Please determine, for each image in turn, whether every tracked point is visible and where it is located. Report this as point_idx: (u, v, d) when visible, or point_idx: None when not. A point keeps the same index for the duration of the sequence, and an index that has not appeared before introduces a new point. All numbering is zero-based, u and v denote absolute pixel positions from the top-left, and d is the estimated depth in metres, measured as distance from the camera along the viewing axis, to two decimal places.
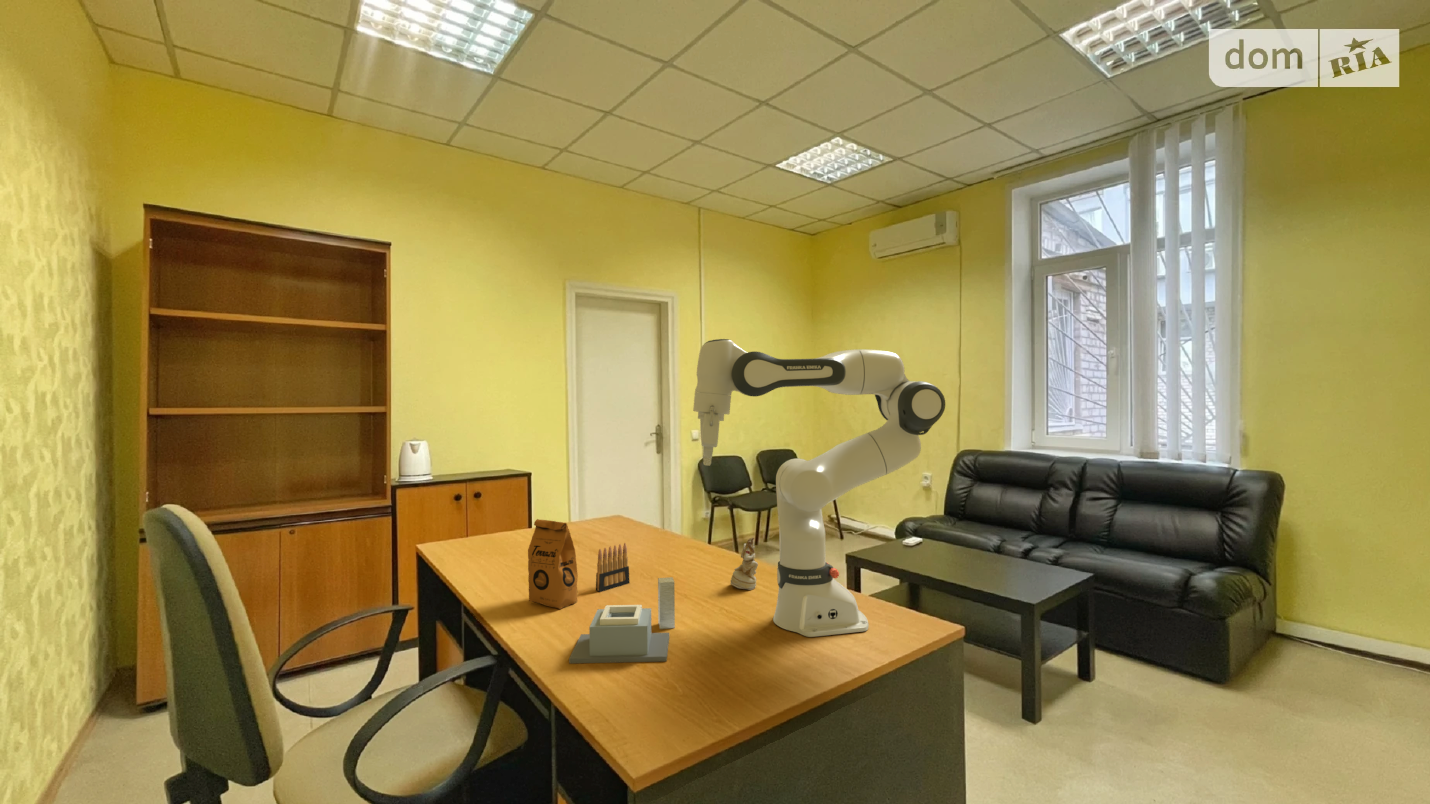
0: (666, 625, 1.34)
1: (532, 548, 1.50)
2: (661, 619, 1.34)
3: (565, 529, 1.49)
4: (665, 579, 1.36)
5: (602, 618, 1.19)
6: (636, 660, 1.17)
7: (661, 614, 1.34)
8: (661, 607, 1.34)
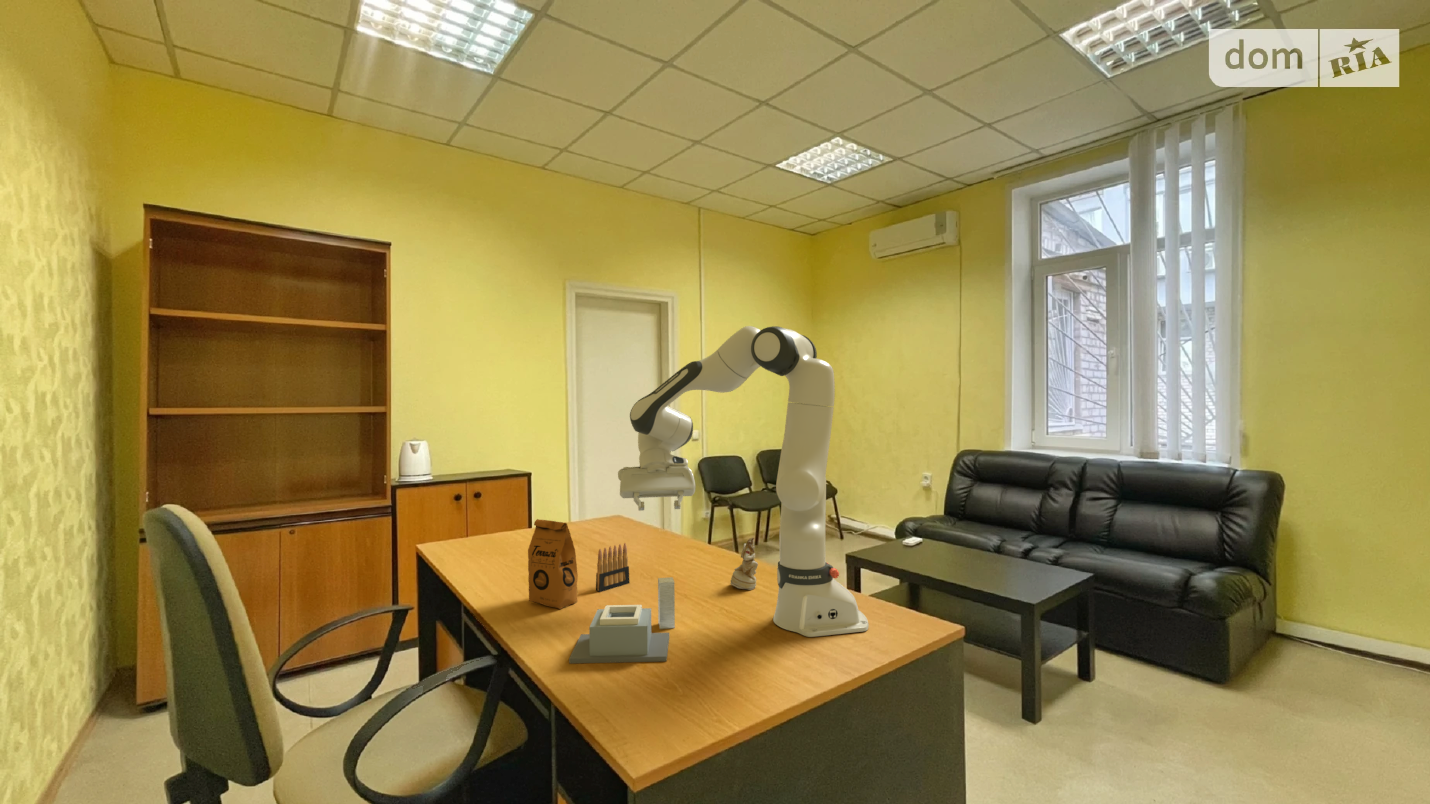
0: (666, 625, 1.34)
1: (532, 548, 1.50)
2: (661, 619, 1.34)
3: (565, 529, 1.49)
4: (665, 579, 1.36)
5: (602, 618, 1.19)
6: (636, 660, 1.17)
7: (661, 614, 1.34)
8: (661, 607, 1.34)
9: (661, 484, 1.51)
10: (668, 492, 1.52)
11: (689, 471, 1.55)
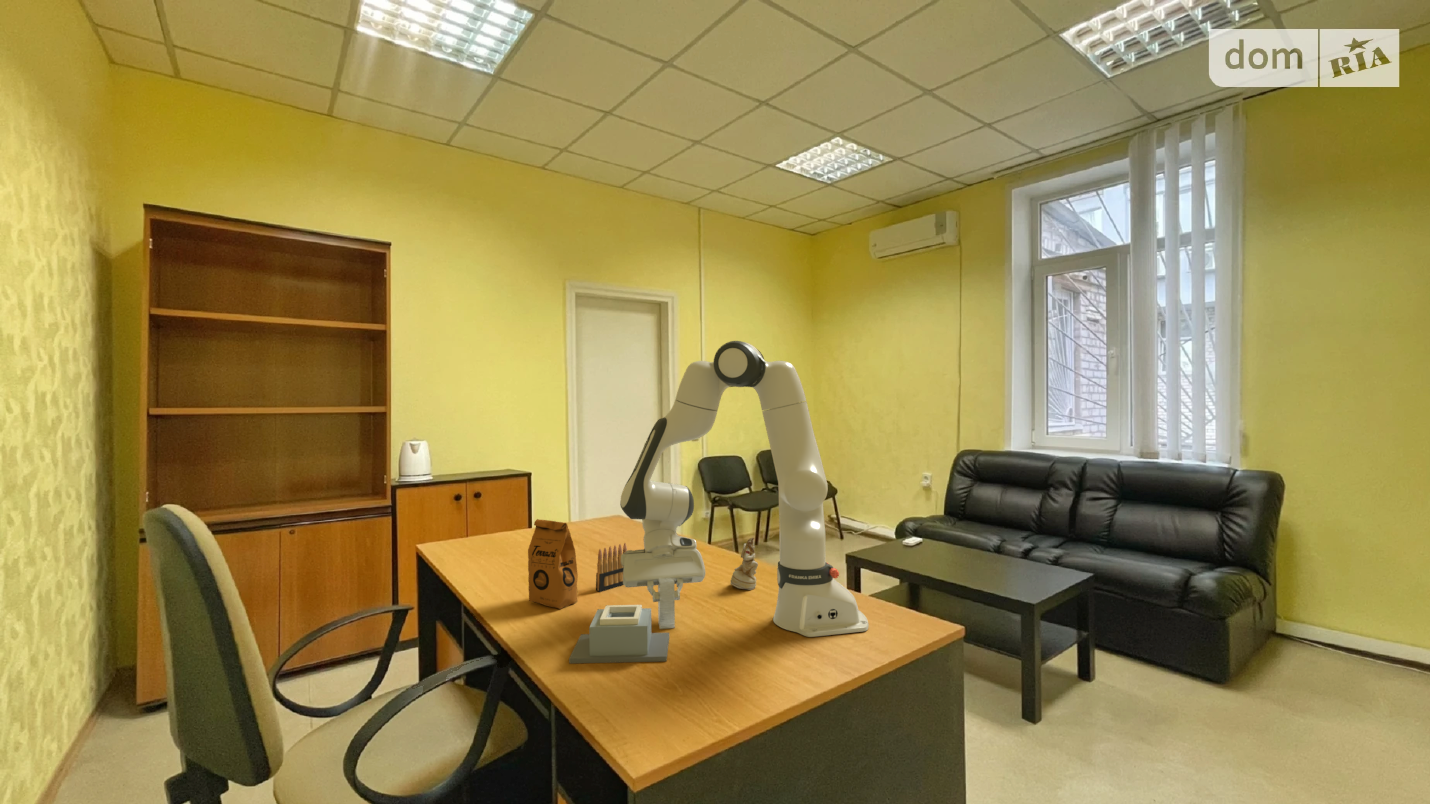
0: (666, 625, 1.34)
1: (532, 548, 1.50)
2: (661, 619, 1.34)
3: (565, 529, 1.49)
4: (665, 579, 1.36)
5: (602, 618, 1.19)
6: (636, 660, 1.17)
7: (661, 614, 1.34)
8: (661, 607, 1.34)
9: (667, 572, 1.38)
10: None
11: (698, 554, 1.42)
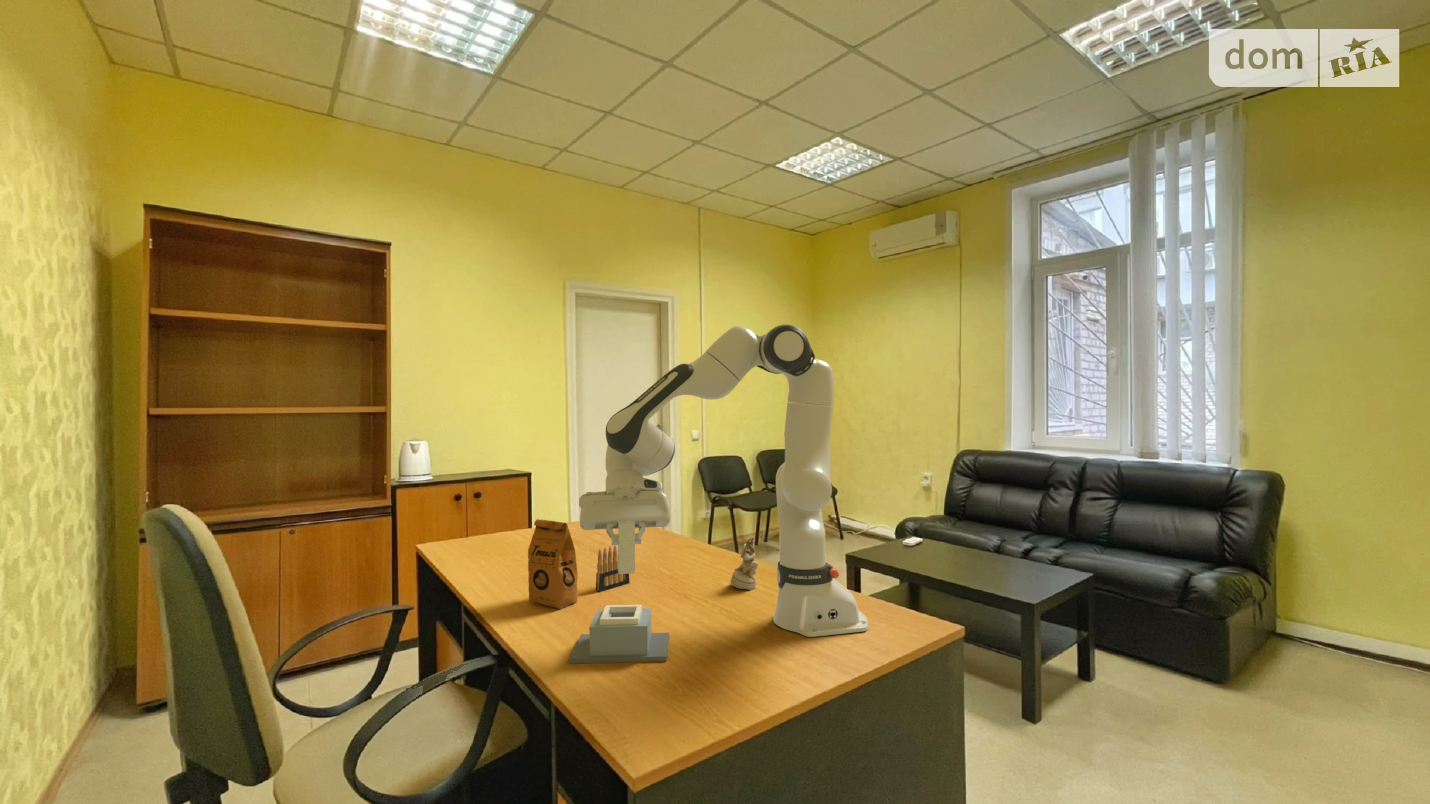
0: (625, 570, 1.23)
1: (532, 548, 1.50)
2: (620, 563, 1.23)
3: (565, 529, 1.49)
4: (625, 521, 1.25)
5: (602, 618, 1.19)
6: (636, 660, 1.17)
7: (620, 558, 1.23)
8: (620, 550, 1.23)
9: (629, 514, 1.27)
10: None
11: (663, 497, 1.31)
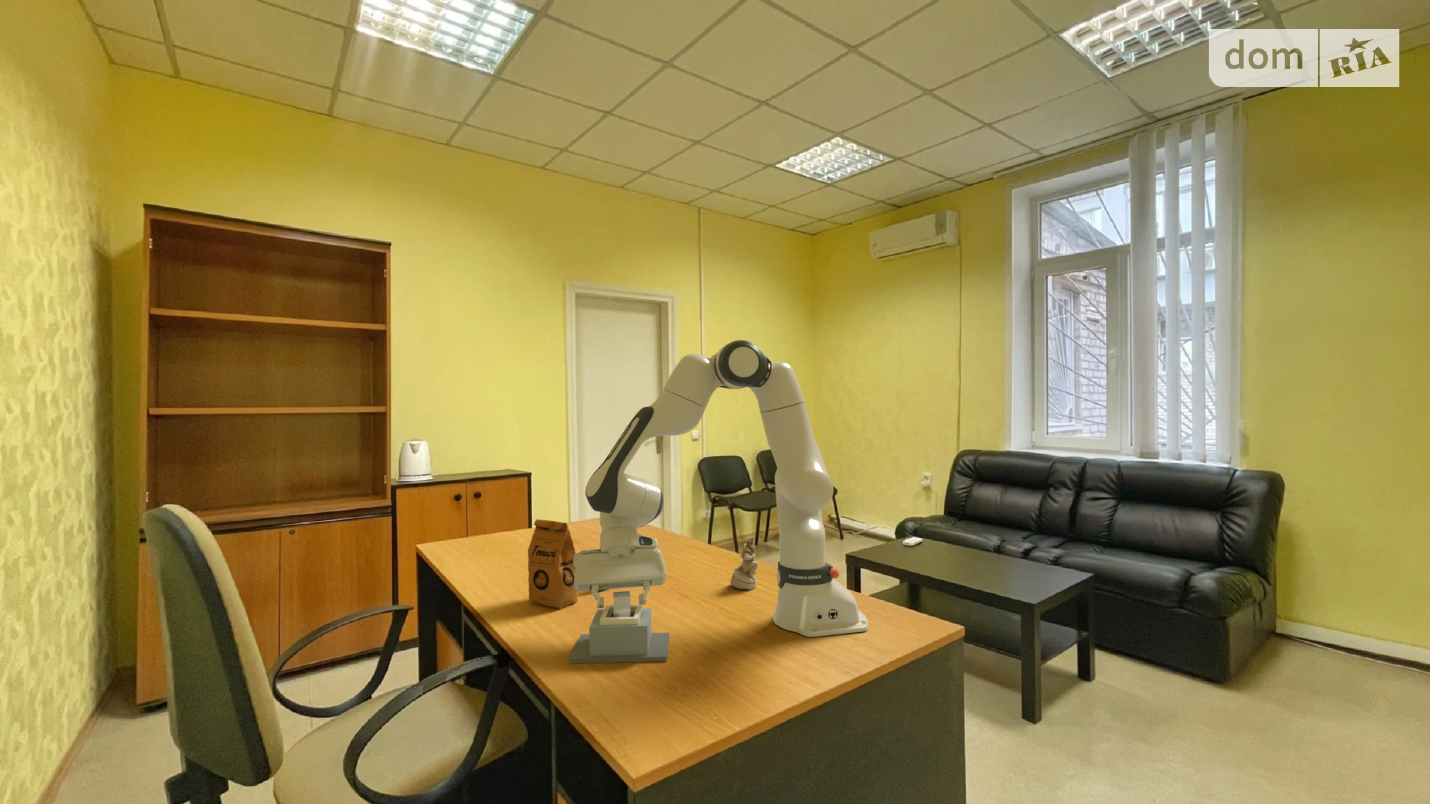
0: None
1: (532, 548, 1.50)
2: None
3: (565, 529, 1.49)
4: (620, 593, 1.23)
5: (602, 618, 1.19)
6: (636, 660, 1.17)
7: None
8: None
9: (624, 574, 1.25)
10: (633, 582, 1.27)
11: (658, 554, 1.29)
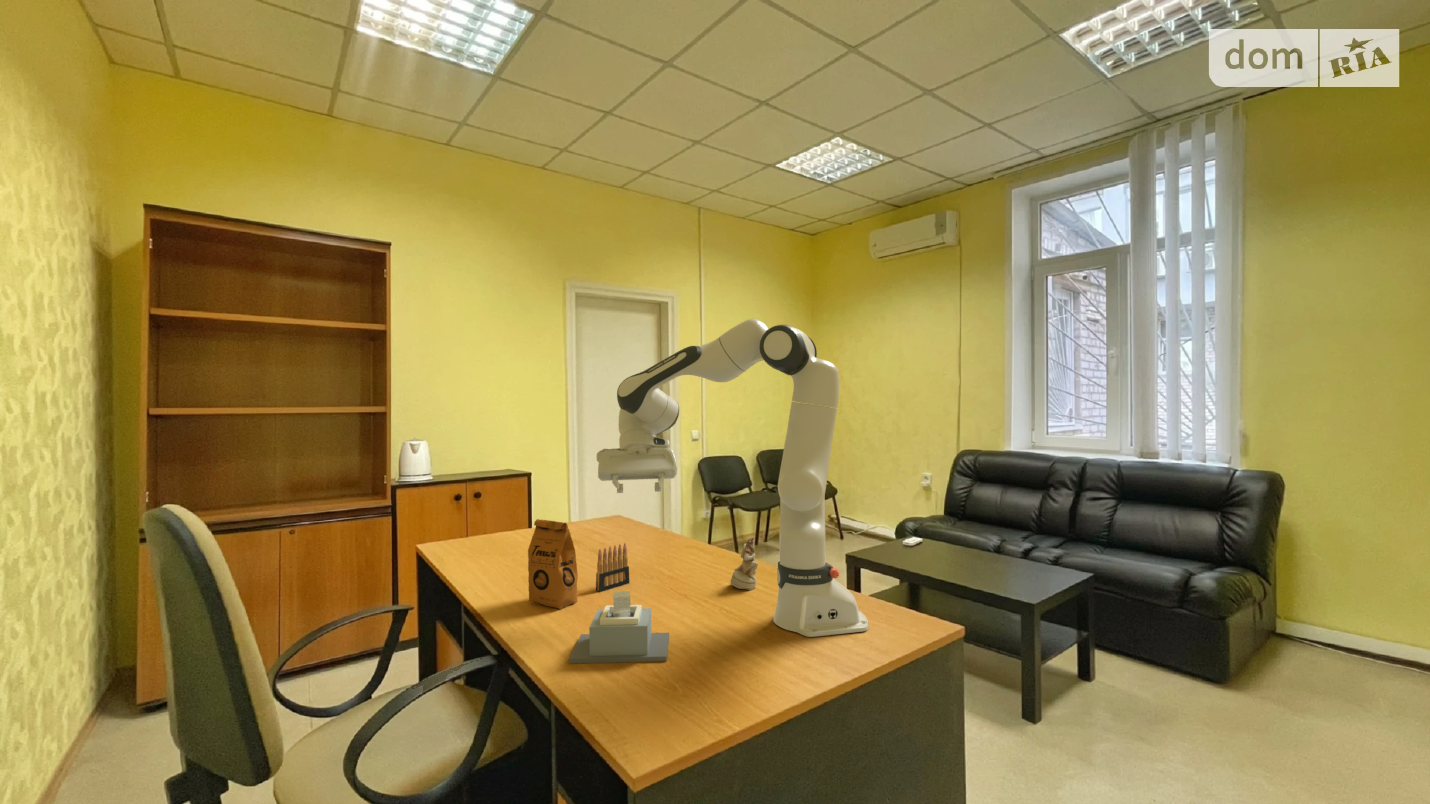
0: None
1: (532, 548, 1.50)
2: None
3: (565, 529, 1.49)
4: (620, 593, 1.23)
5: (602, 618, 1.19)
6: (636, 660, 1.17)
7: None
8: None
9: (641, 466, 1.45)
10: (649, 474, 1.46)
11: (670, 452, 1.49)
